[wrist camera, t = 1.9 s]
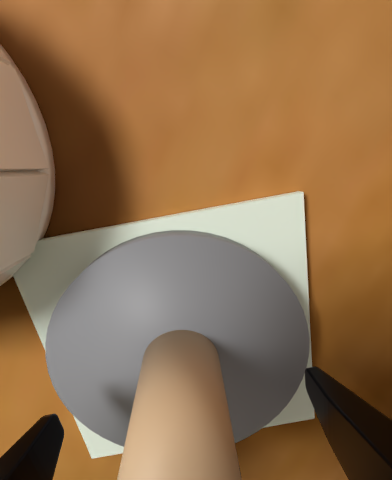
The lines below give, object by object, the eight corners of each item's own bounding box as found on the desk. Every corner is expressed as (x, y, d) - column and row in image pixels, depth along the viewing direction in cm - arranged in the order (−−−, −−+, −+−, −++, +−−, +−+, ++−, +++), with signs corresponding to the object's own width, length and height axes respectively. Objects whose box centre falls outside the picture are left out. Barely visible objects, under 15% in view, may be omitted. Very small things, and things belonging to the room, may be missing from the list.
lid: (291, 207, 10) (483, 277, 3) (304, 412, 13) (418, 642, 7) (18, 257, 10) (-273, 415, 4) (98, 450, 13) (19, 713, 7)
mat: (298, 191, 10) (303, 192, 10) (310, 411, 13) (314, 418, 13) (8, 244, 10) (1, 248, 10) (94, 450, 13) (92, 458, 13)
